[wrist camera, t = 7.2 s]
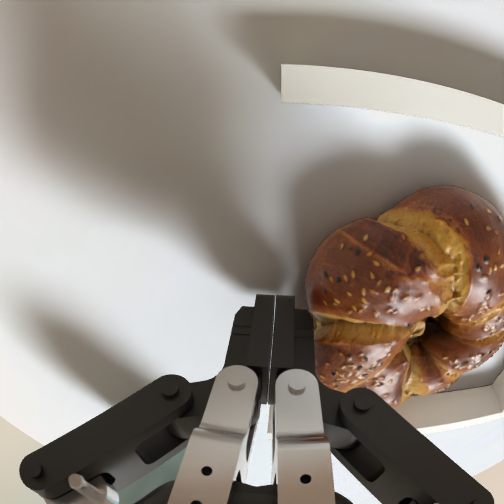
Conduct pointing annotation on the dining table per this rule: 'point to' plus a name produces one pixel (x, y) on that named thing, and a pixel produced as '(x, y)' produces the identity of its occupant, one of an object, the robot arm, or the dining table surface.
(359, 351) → the pretzel
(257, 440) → the dining table surface
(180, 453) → the cup
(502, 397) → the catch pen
